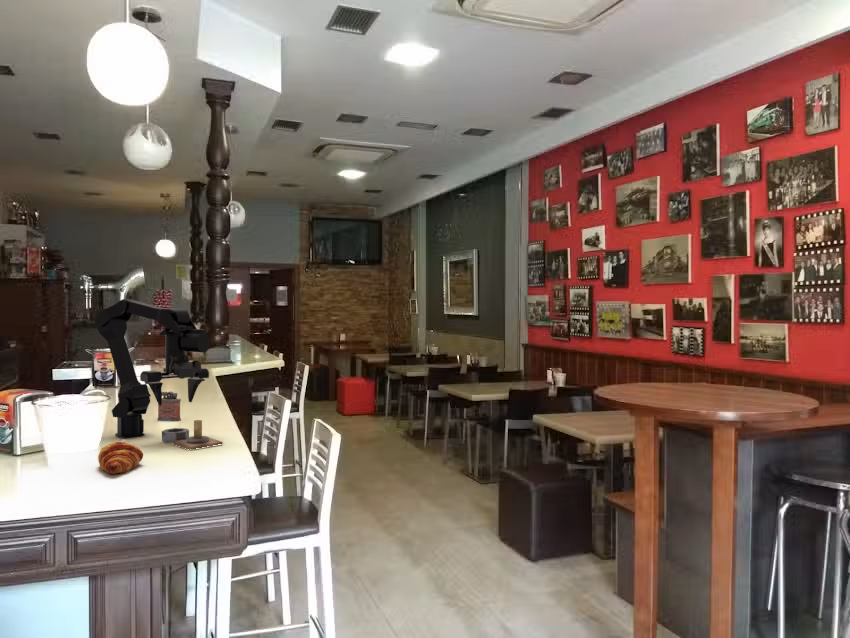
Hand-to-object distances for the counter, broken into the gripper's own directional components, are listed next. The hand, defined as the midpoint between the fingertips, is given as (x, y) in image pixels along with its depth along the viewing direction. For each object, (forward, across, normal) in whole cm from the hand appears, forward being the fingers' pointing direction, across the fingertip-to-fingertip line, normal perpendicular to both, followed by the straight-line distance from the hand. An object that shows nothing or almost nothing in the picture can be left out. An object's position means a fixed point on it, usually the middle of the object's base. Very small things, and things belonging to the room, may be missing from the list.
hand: (175, 403), depth 190 cm
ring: (+11, 0, 0) cm, 11 cm away
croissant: (+11, -23, -20) cm, 33 cm away
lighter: (+11, +13, +33) cm, 37 cm away
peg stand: (+11, +2, -10) cm, 15 cm away
